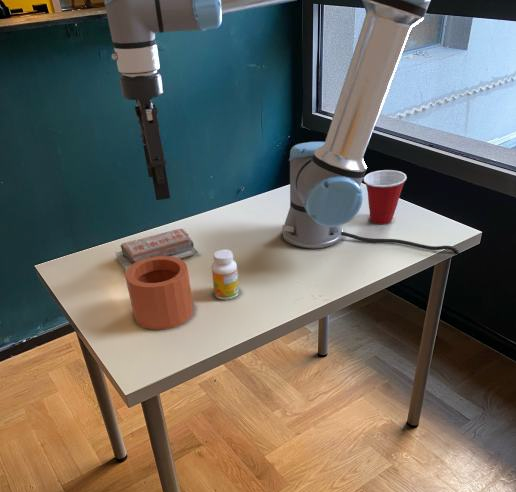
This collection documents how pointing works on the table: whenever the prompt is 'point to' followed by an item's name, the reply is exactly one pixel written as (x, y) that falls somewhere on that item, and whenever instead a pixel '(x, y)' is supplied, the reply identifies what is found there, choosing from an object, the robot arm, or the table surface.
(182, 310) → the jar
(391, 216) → the plastic cup
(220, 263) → the supplement bottle
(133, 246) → the packaged product
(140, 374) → the table surface
